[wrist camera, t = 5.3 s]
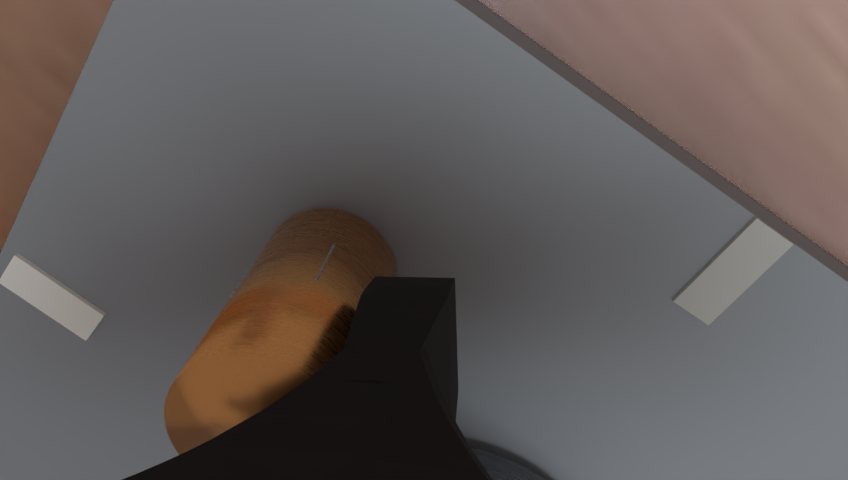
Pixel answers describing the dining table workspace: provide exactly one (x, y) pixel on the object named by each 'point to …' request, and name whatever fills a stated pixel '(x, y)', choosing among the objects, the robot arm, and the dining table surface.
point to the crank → (286, 329)
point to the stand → (413, 244)
